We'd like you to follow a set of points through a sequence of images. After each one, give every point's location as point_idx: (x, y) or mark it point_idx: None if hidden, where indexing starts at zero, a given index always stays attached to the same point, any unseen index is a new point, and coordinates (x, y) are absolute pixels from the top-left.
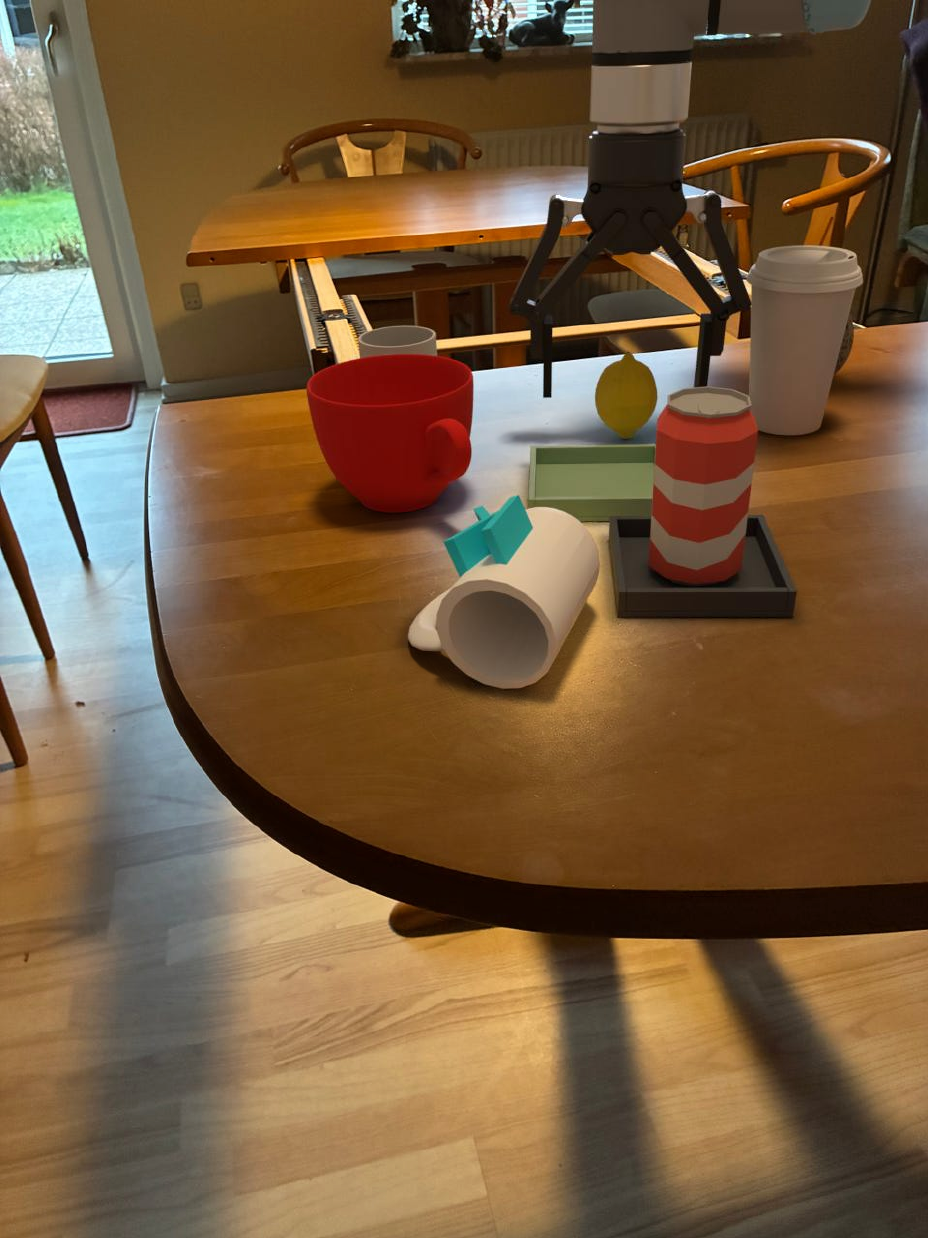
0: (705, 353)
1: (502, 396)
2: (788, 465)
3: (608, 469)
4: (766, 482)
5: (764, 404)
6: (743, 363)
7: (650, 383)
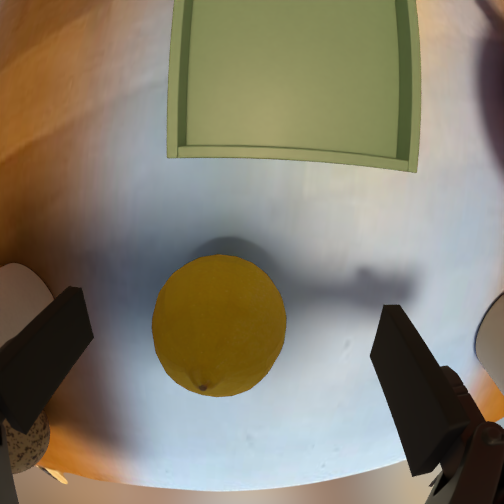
0: (28, 332)
1: (379, 421)
2: (17, 161)
3: (271, 116)
4: (44, 99)
5: (20, 296)
6: (97, 453)
7: (160, 310)
